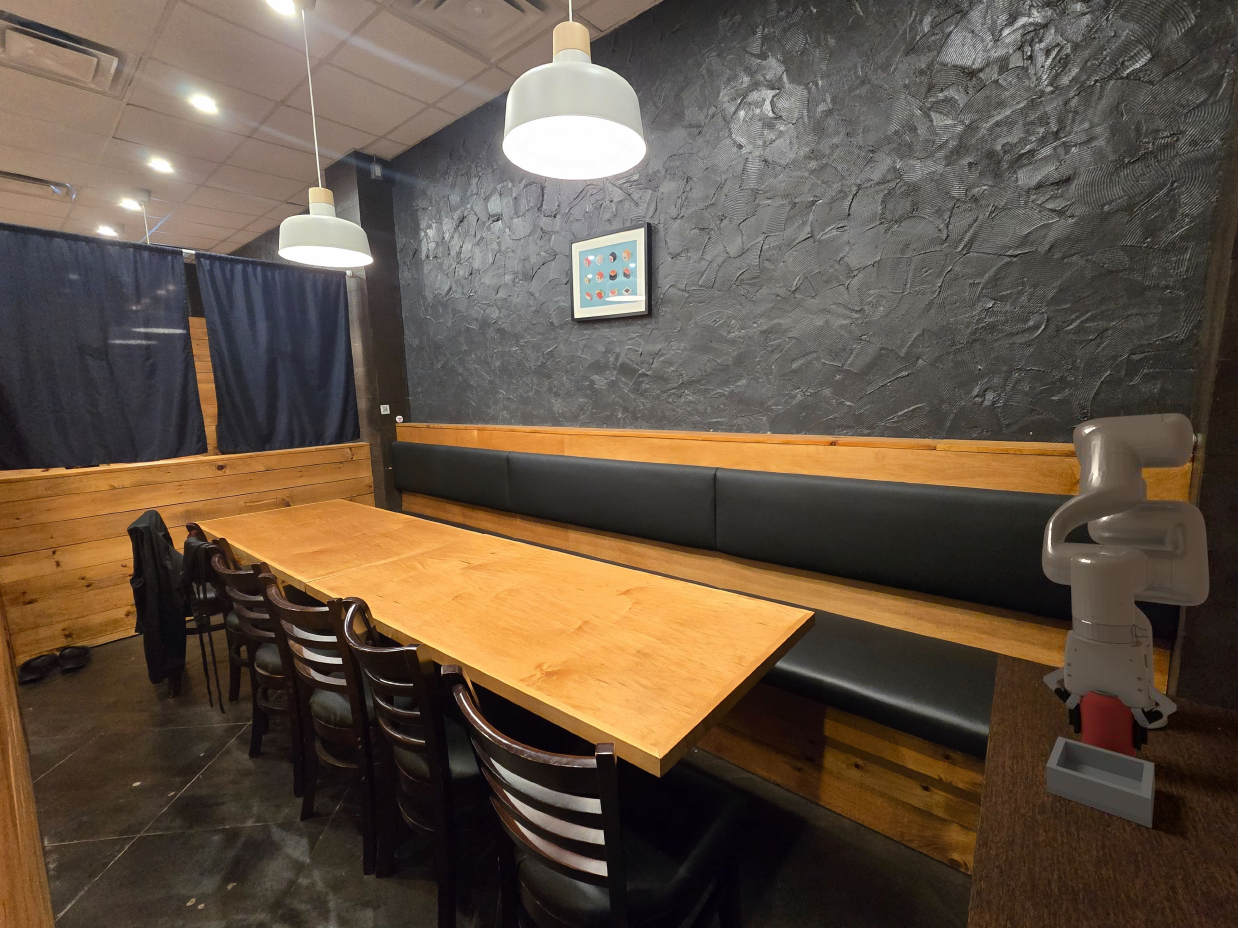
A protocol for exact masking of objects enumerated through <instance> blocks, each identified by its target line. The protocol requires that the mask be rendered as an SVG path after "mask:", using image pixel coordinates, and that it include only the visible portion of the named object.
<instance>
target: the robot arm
mask: <svg viewBox="0 0 1238 928" xmlns="http://www.w3.org/2000/svg"><path fill="white" fill-rule="evenodd" d="M1072 440H1073V449H1074V452H1075V454H1076V458H1077V461H1078V464H1079V466H1080V469H1079V470H1080V471H1079V483H1078V485H1079V486H1078V493H1077V494H1076V495H1074V496H1073V497H1072V498H1069V500H1067V501H1066V502H1064V503H1063V504H1062V505H1061V506H1060V507H1059V508H1058V509H1057V510H1055V512H1054V513H1053V514H1052V516H1050V517H1049V519H1048V521H1047V523H1046V526H1045V529H1044V534H1043V542H1042V543H1043V544H1042V553H1041V554H1042V555H1041V567H1042V571H1043V573H1044V575H1045V576H1046V578H1048V579H1049V580H1050V581H1052V583H1053V582H1054V583H1056V584H1061V585H1068V586H1070V587H1071V588H1070V589H1071V590H1070V591H1071V615H1072V617H1071V619H1072V621H1071V622H1072V629H1069V630H1068V631H1067V635H1066V640H1065V646H1064V647H1065V648H1064V660H1063V666H1062V667H1059V668H1058V669H1055V670H1054V671H1052V672H1049V673H1048V674H1046V675H1045V676H1043V679H1042V680H1043V683H1045V685H1047V686H1048V688H1050V690H1051V691H1052V692H1054V694H1055V696H1056V697H1058V698H1059V699H1060V700H1061V702H1063V703H1064V704H1065V706H1066V708H1067V710H1068V724H1069V725H1070V726H1073V733H1074V734H1076V735H1081V726H1080V703H1079V700H1080V699H1081V696H1086V695H1087V694H1088V693H1089V692H1091V691H1090V689H1092V690H1095V691H1098V692H1102V693H1107V694H1114V695H1118V696H1119V697H1118V698H1119V699H1120V700H1121V702H1122V703H1123V704H1124V705H1126V706H1128V707H1130V709H1131V712H1132V713H1133V715H1134V717H1135V723H1134V744H1135V749H1136V751H1139V752H1142V747H1143V745H1146V746H1148V745H1149V733H1148V732H1149V730H1148V729H1159V728H1162V727H1163V728H1164V726H1166V725H1168V722H1169V721H1168V716H1169V715H1171V714H1173V713H1175V712H1177V710H1178V708H1177V707H1178V706H1177V703H1175V702H1174V701H1173V700H1172V699H1170V698H1169V697H1168V696H1167V695H1165V694H1164V693H1163V692H1162V691H1160V690H1159V689H1157V688H1156V687H1155V676H1154V674H1155V673H1154V650H1153V649H1154V648H1153V647H1154V646H1153V643H1154V642H1153V641H1154V640H1153V629H1152V628H1153V627H1152V623H1151V621H1150V620H1149V619H1148V617H1147V616H1146V614H1144V611H1142V610H1141V609H1140V608H1139V607H1138V606H1137V605H1136V604H1135V601H1139V602H1141V601H1142V602H1148V603H1149V602H1150V603H1156V604H1157V603H1158V604H1166V605H1173V606H1174V605H1176V606H1183V607H1184V606H1186V607H1192V606H1193V607H1194V606H1199V605H1201V604H1203V603H1205V602H1206V600H1207V599H1208V597H1209V596H1208V595H1209V592H1210V572H1209V557H1208V556H1209V555H1208V542H1207V541H1208V539H1207V529H1206V523H1205V522H1206V521H1205V519H1204V515H1203V513H1202V511H1200V510H1201V509H1199V507H1197V506H1196V505H1195V504H1193V503H1190V502H1186V501H1184V500H1171V499H1170V500H1169V499H1167V500H1165V499H1148V495H1147V494H1148V490H1147V489H1148V484H1147V482H1146V480H1145V479H1144V478H1143V469H1157V468H1158V469H1163V468H1164V469H1165V468H1167V469H1170V468H1171V469H1172V468H1182V467H1184V466H1186V465H1187V464H1188V463H1189V462H1190V460H1191V459H1192V454H1193V449H1194V429H1193V426H1192V423H1191V421H1190V419H1189V418H1188V417H1187V416H1186V415H1185V414H1183V413H1180V412H1179V413H1177V412H1176V413H1175V412H1174V413H1173V412H1171V413H1170V412H1168V413H1154V414H1153V413H1152V414H1141V415H1138V414H1137V415H1125V416H1124V415H1122V416H1121V415H1120V416H1109V417H1099V418H1093V419H1088V420H1085V421H1083V422H1081V423H1079V424H1078V425H1077V426H1076V427H1075V428H1074V430H1073V435H1072ZM1085 524H1087V530H1088V534H1089V537H1090V538H1091V539H1092V540H1093V541H1094V542H1096V543H1097V544H1095V543H1081V542H1079V543H1077V542H1065V539H1066V537H1067V536H1068V534H1069V533H1070V532H1072V531H1073V530H1074V529H1076V528H1077V527H1079V526H1082V525H1085ZM1061 679H1063V685H1064V687H1063V686H1062V685H1060V683H1059V682H1058V681H1059V680H1061ZM1156 703H1157V704H1158V706H1156V705H1155V704H1156Z"/></svg>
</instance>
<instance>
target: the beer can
mask: <svg viewBox="0 0 1238 928" xmlns="http://www.w3.org/2000/svg"><path fill="white" fill-rule="evenodd" d="M1090 691H1091V692H1089V693H1088V694H1087V695H1086V696H1081V699H1080V700H1079V703H1080V726H1081V732H1080V742H1081V743H1084V744H1088V745H1091V746H1095V747H1098V748H1102V749H1106V750H1109V751H1113V752H1116V753H1120V754H1123V755H1127V756H1130V757H1134V758H1137V750H1136V749H1135V744H1134V723H1135V717H1134V715H1133V713H1132V712H1131V709H1130V707H1128V706H1126V705H1124V704H1123V703H1122V702H1121V700H1120V699H1119V698H1118V697H1119V696H1118V695H1114V694H1107V693H1102V692H1098V691H1095V690H1092V689H1090Z"/></svg>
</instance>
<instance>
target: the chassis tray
mask: <svg viewBox="0 0 1238 928" xmlns="http://www.w3.org/2000/svg"><path fill="white" fill-rule="evenodd" d="M1045 772H1046V792H1047V793H1048V792H1049V793H1048V794H1051V795H1055V796H1058V797H1060V796H1061V798H1063V799H1066V800H1069V801H1072V802H1074V803H1077V804H1080V805H1083V806H1086V807H1090V808H1092V807H1093V808H1092V809H1094V808H1095V810H1097V811H1100V812H1103V813H1106V814H1108V815H1112V816H1115V817H1117V818H1120V817H1121V819H1124V820H1127V821H1129V822H1133V823H1135V824H1138V825H1142V826H1144V827H1147V828H1150V829H1152V828H1153V820H1154V819H1153V817H1154V807H1155V806H1154V805H1155V795H1156V793H1155V792H1156V778H1155V777H1156V776H1155V775H1156V773H1155V762H1152V761H1148V760H1145V759H1141V758H1137V757H1136V758H1134V757H1130V756H1127V755H1123V754H1120V753H1116V752H1113V751H1109V750H1106V749H1102V748H1098V747H1095V746H1091V745H1088V744H1084V743H1081V741H1077V740H1074V739H1069V738H1065V737H1062V736H1059V735H1058V736H1057V738H1056V740H1055V744H1054V746H1053V749H1052V751H1051V753H1050V756H1049V758H1048V760H1047V763H1046V765H1045Z"/></svg>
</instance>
